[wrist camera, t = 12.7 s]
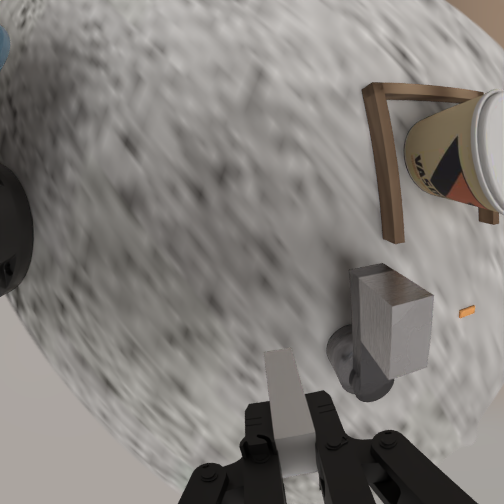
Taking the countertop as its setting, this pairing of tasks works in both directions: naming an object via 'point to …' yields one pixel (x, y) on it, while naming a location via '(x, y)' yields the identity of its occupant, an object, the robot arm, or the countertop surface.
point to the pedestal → (342, 355)
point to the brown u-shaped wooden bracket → (385, 146)
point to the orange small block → (466, 311)
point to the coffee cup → (461, 152)
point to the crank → (387, 329)
